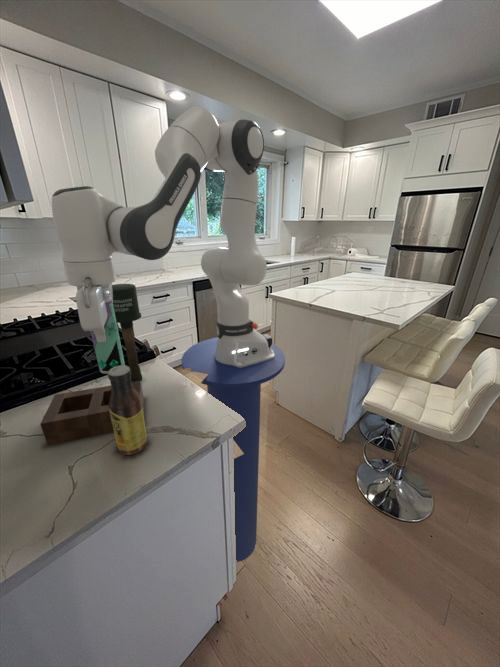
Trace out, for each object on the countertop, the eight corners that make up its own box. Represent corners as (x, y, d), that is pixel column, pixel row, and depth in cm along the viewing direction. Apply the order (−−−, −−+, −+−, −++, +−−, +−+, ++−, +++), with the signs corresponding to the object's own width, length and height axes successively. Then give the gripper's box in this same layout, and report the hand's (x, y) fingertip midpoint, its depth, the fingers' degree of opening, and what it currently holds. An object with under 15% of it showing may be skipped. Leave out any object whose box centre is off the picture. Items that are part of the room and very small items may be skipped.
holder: (143, 398, 78) (140, 380, 76) (143, 425, 68) (140, 405, 66) (60, 413, 72) (54, 394, 69) (47, 445, 62) (40, 423, 60)
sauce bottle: (116, 442, 63) (98, 365, 55) (144, 432, 66) (131, 358, 58) (120, 462, 58) (102, 381, 50) (151, 450, 61) (138, 372, 53)
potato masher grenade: (115, 386, 84) (94, 288, 72) (134, 372, 91) (119, 282, 80) (138, 391, 81) (121, 291, 70) (156, 376, 89) (143, 284, 77)
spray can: (102, 364, 68) (83, 283, 60) (126, 361, 69) (110, 281, 62) (97, 375, 63) (76, 288, 55) (123, 371, 64) (106, 286, 57)
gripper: (101, 283, 49) (115, 352, 55) (112, 265, 67) (122, 319, 72) (60, 285, 47) (79, 357, 53) (83, 267, 65) (95, 322, 70)
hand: (104, 335), depth 63 cm, fingers closed on spray can, 5 cm apart
